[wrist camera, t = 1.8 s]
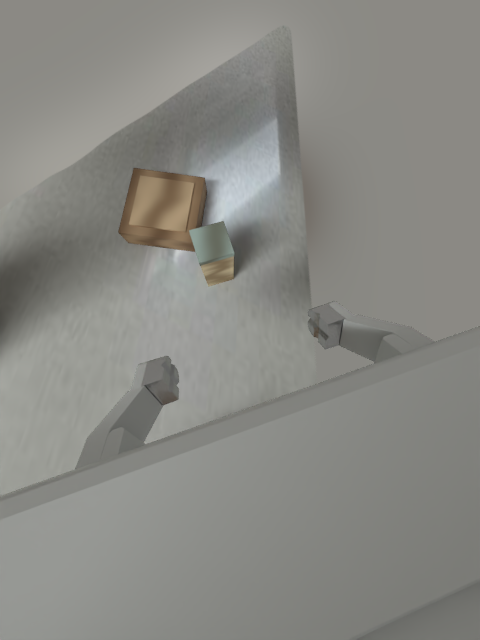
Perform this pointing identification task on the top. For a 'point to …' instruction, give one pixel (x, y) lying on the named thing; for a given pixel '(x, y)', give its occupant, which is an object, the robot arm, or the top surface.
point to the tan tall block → (214, 252)
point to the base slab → (163, 209)
